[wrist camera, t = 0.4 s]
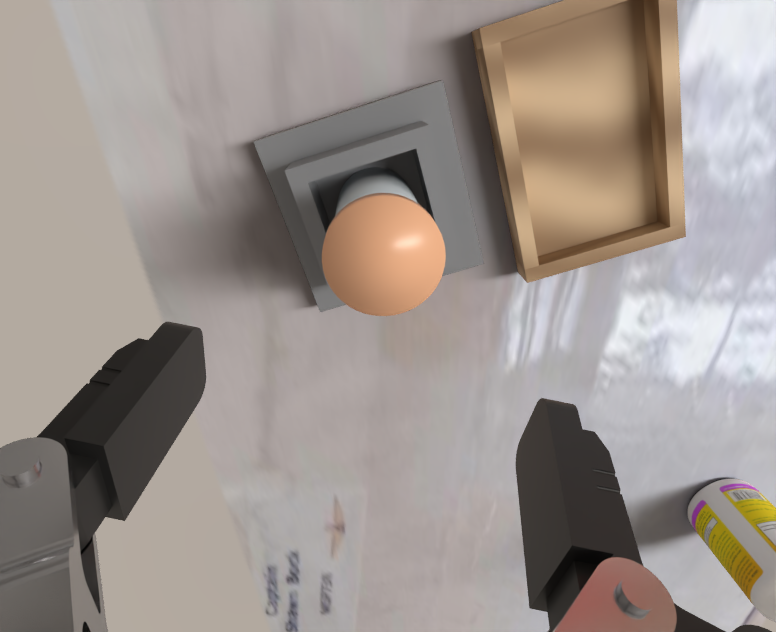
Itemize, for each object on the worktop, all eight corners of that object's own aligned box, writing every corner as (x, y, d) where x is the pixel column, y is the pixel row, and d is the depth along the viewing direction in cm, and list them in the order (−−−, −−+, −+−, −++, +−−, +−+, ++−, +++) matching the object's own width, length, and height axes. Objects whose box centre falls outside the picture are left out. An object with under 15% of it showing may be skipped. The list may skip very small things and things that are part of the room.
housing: (257, 139, 32) (241, 148, 27) (439, 80, 31) (453, 79, 26) (321, 303, 37) (316, 334, 32) (479, 257, 36) (496, 281, 31)
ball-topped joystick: (320, 177, 31) (303, 219, 22) (405, 150, 31) (428, 180, 21) (348, 258, 34) (345, 329, 24) (428, 234, 33) (458, 296, 23)
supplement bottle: (701, 537, 49) (807, 676, 38) (672, 501, 47) (775, 636, 36) (764, 502, 48) (895, 636, 36) (737, 463, 46) (867, 592, 34)
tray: (471, 32, 30) (479, 28, 28) (653, -29, 29) (675, -37, 27) (518, 272, 37) (527, 282, 35) (667, 228, 36) (685, 236, 34)
